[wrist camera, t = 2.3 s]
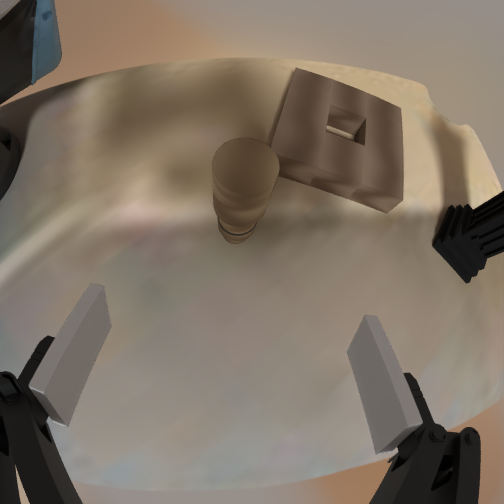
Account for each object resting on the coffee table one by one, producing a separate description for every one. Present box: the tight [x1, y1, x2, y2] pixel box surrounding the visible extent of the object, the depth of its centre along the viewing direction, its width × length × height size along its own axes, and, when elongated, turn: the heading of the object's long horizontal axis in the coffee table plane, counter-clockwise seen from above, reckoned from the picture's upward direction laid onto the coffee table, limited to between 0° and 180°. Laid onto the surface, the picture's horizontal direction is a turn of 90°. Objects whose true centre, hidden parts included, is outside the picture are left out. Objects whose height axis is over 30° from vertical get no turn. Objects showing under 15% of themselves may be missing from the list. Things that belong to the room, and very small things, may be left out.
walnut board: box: [270, 68, 404, 213], centre depth 34 cm, size 16×16×4 cm
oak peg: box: [213, 138, 280, 244], centre depth 25 cm, size 4×4×13 cm
